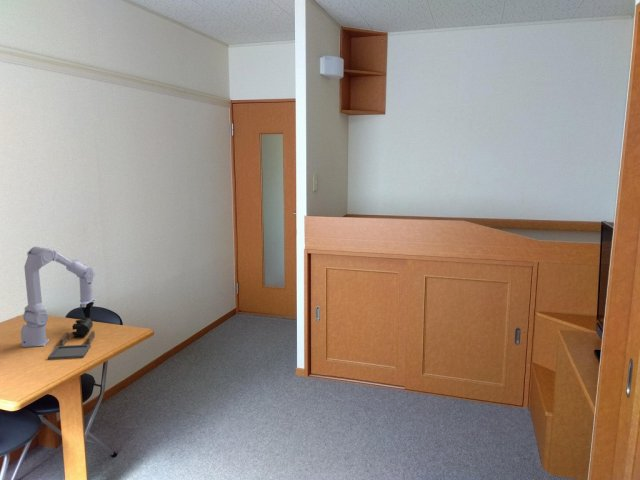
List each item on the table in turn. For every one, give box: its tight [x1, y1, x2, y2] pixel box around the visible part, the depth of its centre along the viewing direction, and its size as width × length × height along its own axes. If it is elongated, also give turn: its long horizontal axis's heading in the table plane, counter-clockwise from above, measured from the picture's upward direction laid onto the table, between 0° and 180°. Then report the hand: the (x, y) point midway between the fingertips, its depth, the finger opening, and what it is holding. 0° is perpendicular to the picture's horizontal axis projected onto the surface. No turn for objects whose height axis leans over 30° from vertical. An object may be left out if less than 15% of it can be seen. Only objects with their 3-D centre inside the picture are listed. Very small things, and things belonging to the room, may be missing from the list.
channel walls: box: [59, 331, 96, 346], centre depth 229 cm, size 12×10×3 cm
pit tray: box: [47, 343, 92, 360], centre depth 217 cm, size 14×13×1 cm
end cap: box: [72, 318, 94, 339], centre depth 239 cm, size 10×7×7 cm
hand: (87, 317), depth 248 cm, fingers closed
